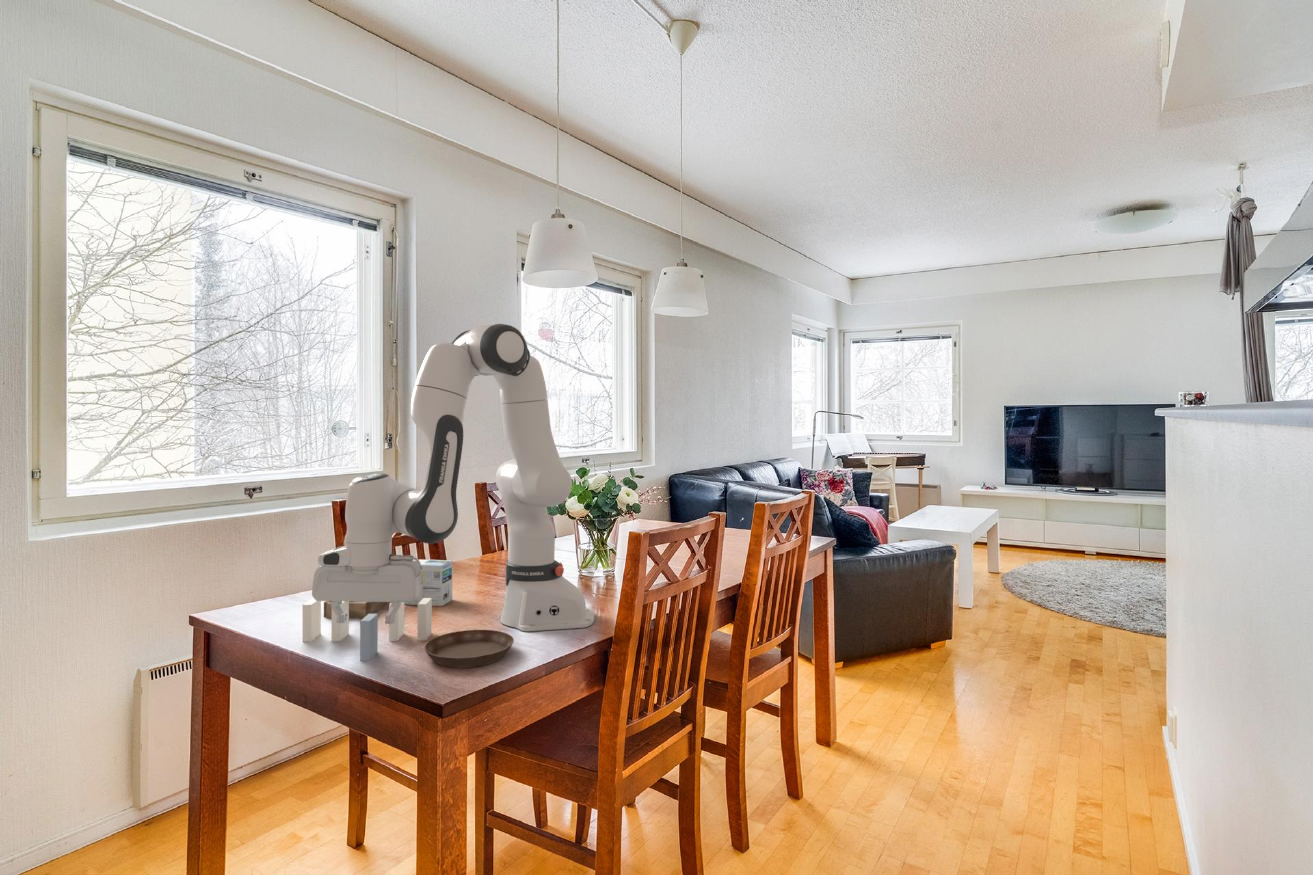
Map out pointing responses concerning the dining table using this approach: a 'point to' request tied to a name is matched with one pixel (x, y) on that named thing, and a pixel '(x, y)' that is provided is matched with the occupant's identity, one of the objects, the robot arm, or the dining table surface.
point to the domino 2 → (340, 624)
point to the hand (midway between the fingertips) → (365, 622)
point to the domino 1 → (311, 620)
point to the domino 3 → (368, 637)
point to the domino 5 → (424, 619)
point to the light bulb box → (435, 582)
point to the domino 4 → (397, 623)
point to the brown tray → (355, 609)
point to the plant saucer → (468, 648)
